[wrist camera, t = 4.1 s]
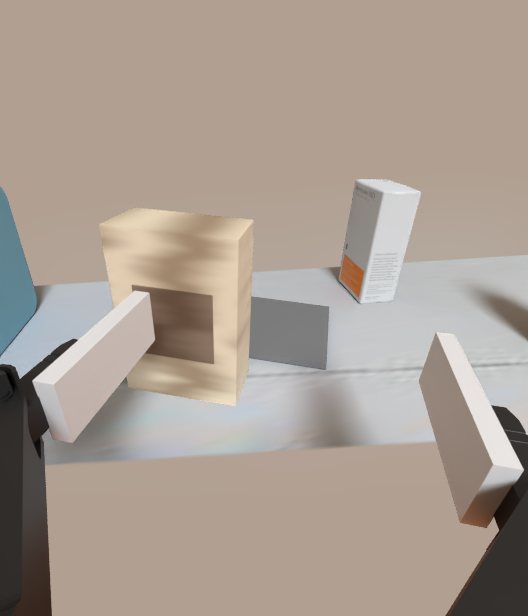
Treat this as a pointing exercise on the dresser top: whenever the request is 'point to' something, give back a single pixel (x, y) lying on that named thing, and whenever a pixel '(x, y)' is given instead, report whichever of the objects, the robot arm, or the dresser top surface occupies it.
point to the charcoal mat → (288, 332)
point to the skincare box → (377, 238)
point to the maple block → (186, 298)
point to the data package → (13, 279)
